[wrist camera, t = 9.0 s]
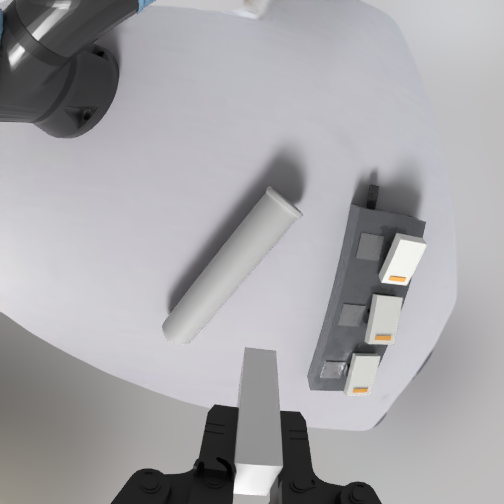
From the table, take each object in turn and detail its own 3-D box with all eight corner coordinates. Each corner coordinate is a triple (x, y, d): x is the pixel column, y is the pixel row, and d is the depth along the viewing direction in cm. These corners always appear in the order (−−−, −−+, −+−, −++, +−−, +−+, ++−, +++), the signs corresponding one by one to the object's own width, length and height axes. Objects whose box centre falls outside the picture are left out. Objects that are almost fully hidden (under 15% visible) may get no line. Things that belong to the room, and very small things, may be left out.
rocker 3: (373, 294, 34) (378, 295, 33) (397, 296, 34) (403, 297, 33) (364, 341, 34) (368, 344, 33) (389, 341, 34) (394, 344, 33)
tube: (148, 330, 37) (263, 182, 30) (168, 319, 42) (273, 188, 35) (175, 358, 36) (300, 213, 30) (193, 344, 41) (305, 215, 35)
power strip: (354, 181, 34) (365, 183, 30) (417, 196, 34) (432, 200, 30) (307, 375, 43) (310, 392, 39) (361, 377, 43) (368, 392, 39)
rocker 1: (353, 353, 37) (356, 356, 35) (376, 353, 37) (381, 356, 36) (343, 391, 37) (346, 396, 35) (366, 391, 37) (370, 395, 35)
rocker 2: (396, 232, 30) (401, 239, 29) (422, 238, 30) (427, 245, 29) (378, 275, 34) (381, 283, 32) (403, 278, 34) (407, 286, 32)
